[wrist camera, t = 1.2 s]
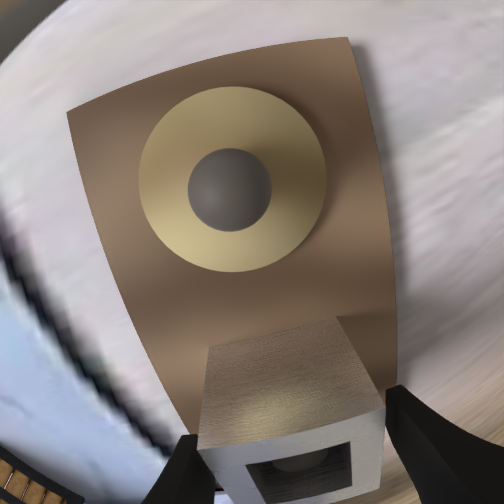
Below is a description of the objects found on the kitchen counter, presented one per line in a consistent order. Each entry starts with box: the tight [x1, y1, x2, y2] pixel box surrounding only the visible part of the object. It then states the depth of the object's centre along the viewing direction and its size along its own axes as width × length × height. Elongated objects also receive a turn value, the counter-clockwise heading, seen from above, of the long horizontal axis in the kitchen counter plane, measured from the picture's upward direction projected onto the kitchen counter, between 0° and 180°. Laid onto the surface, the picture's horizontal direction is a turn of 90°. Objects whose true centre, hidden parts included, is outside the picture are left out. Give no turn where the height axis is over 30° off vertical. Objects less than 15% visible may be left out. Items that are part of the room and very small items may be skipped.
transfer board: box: [67, 37, 397, 472], centre depth 11 cm, size 18×11×6 cm, turn 14°
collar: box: [197, 316, 386, 504], centre depth 11 cm, size 5×5×6 cm
